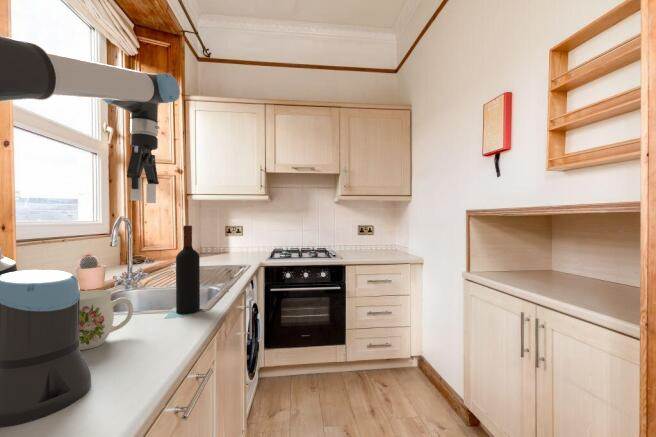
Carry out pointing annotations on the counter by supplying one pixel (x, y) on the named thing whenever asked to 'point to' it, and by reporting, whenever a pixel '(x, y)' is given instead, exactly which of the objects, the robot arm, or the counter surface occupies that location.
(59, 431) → the counter surface
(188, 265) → the wine bottle
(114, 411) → the counter surface
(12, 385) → the robot arm
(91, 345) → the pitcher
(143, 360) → the counter surface
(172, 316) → the mat
